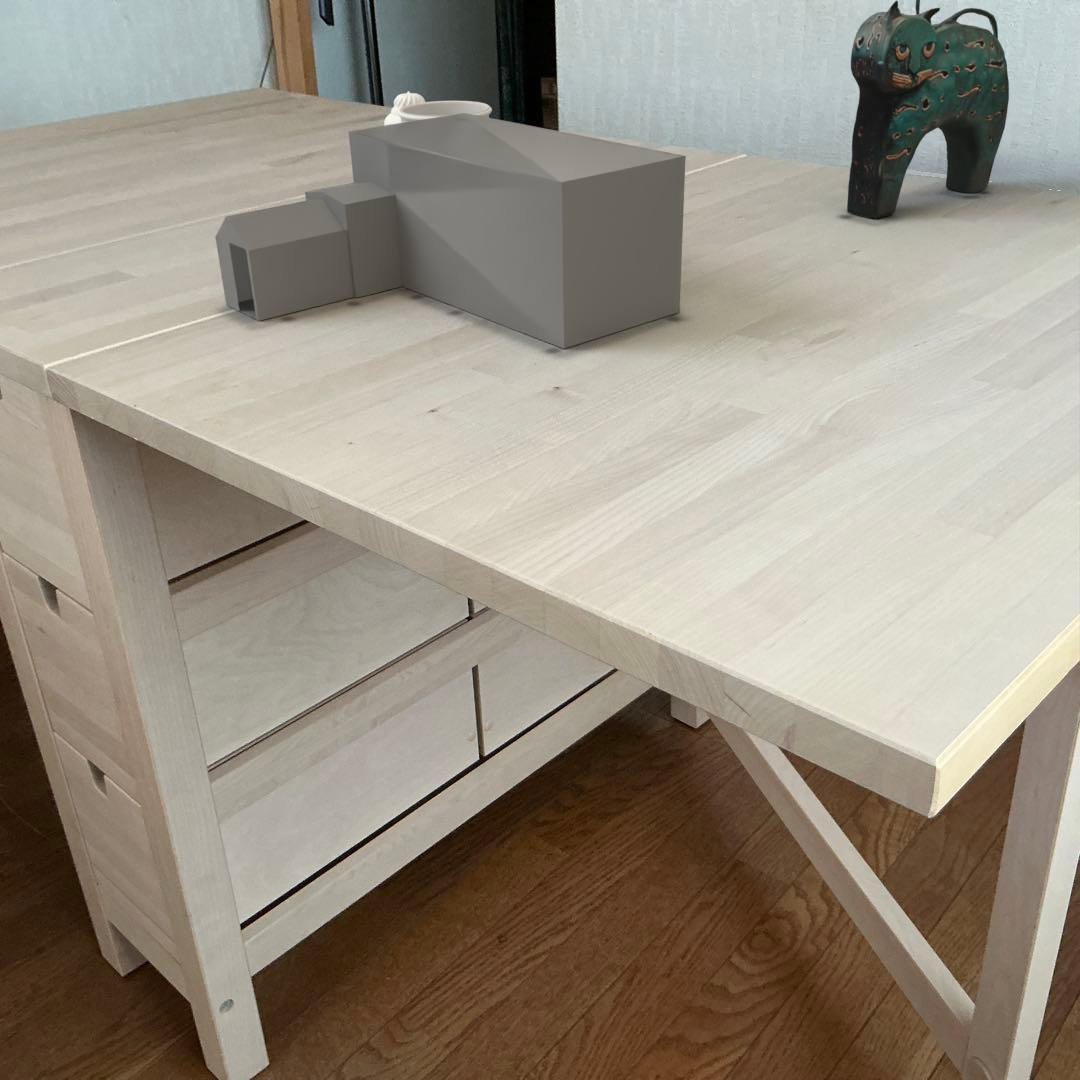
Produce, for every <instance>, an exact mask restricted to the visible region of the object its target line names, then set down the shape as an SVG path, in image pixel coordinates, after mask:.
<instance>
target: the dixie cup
mask: <svg viewBox="0 0 1080 1080" xmlns="http://www.w3.org/2000/svg"><path fill="white" fill-rule="evenodd" d="M492 111H493V109H492V107H491V106H490V105H489V104H487V103H485V102H481V101H473V100H472V101H471V100H436V101H435V100H433V101H425V102H424V103H417V104H411V105H407V106H404V107H402V108H401V109H400V110H399V111H398V116H399V117H401V122H402V123H404V122H410V121H417V120H423V119H429V118H436V117H442V116H448V115H454V114H461V113H467V114H472V115H477V116H482V117H487V118H490V114H491V113H492Z"/></svg>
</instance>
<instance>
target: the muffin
mask: <svg viewBox="0 0 1080 1080" xmlns="http://www.w3.org/2000/svg"><path fill="white" fill-rule="evenodd" d="M424 102H426V100H425V98H424V97H423V96H422V95H421V94H419V93H417V92H415V93H414V92H410V91H409V90H407V92H405V93H400V94H398V95H397V96H396V97H395V99H394V100H393V106H392V108H391V110H390V113H388V115H387V116H386V117H385V119H384V121H383V126H385V125H391V124H398V123H402V122H401V117H399V116H398V111H399V110H400V109H401V108H402V107H404V106H407V105H411V104H417V103H424Z"/></svg>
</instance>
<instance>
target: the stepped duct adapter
mask: <svg viewBox="0 0 1080 1080" xmlns="http://www.w3.org/2000/svg"><path fill="white" fill-rule="evenodd" d="M348 136H349V137H348V139H349V140H348V141H349V149H350V159H351V170H352V179H353V182H350V183H345V184H339V185H335V186H328V187H323V188H317V189H313V190H312V189H311V190H308V191H304V196H305V200H304V201H299V202H293V203H287V204H282V205H278V206H273V207H268V208H262V209H256V210H252V211H246V212H242V213H241V212H240V213H237V214H231V215H226V216H225V217H224V220H223V222H222V224H221V226H220V227H219V229H218V231H217V233H216V235H215V242H216V249H217V256H218V261H219V269H220V274H221V281H222V287H223V293H224V300H225V305H226V306H228V307H229V308H231V309H234V310H236V311H237V312H239V313H242V314H244V315H245V316H248V317H250V318H252V319H254V320H255V321H257V322H261V321H264V320H269V319H272V318H276V317H280V316H284V315H289V314H292V313H297V312H300V311H303V310H304V311H305V310H308V309H313V308H316V307H319V306H324V305H329V304H332V303H336V302H341V301H344V300H348V299H351V298H355V299H358V298H361V297H365V296H370V295H373V294H377V293H381V292H386V291H389V290H393V289H397V288H401V287H403V288H405V289H407V290H411V291H413V292H415V293H419V294H420V295H423V296H427V297H429V298H432V299H434V300H436V301H439V302H442V303H445V304H447V305H450V306H452V307H454V308H457V309H459V310H462V311H465V312H467V313H470V314H473V315H475V316H479V317H481V318H483V319H486V320H487V321H491V322H494V323H497V324H499V325H501V326H503V327H506V328H509V329H512V330H514V331H517V332H519V333H522V334H525V335H527V336H530V337H532V338H534V339H538V340H541V341H542V342H545V343H548V344H551V345H553V346H556V347H559V348H561V349H567V348H570V347H571V348H572V347H574V346H577V345H580V344H584V343H587V342H590V341H593V340H596V339H599V338H602V337H605V336H609V335H611V334H615V333H618V332H621V331H625V330H627V329H630V328H631V329H632V328H634V327H638V326H640V325H643V324H646V323H650V322H652V321H657V320H659V319H662V318H666V317H669V316H671V315H675V314H678V313H680V311H681V289H682V288H681V287H682V286H681V285H682V260H683V258H682V257H683V237H684V235H683V234H684V208H685V207H684V205H685V182H686V181H685V180H686V155H683V154H678V153H673V152H668V151H662V150H657V149H652V148H646V147H642V146H637V145H631V144H626V143H621V142H616V141H612V140H606V139H600V138H595V137H590V136H585V135H580V134H574V133H570V132H565V131H560V130H554V129H548V128H544V127H538V126H533V125H529V124H523V123H518V122H513V121H509V120H508V121H507V120H502V119H498V118H492V117H489V118H487V117H482V116H477V115H472V114H467V113H461V114H454V115H448V116H442V117H436V118H429V119H423V120H417V121H410V122H404V123H398V124H391V125H385V126H384V125H380V126H374V127H367V128H361V129H360V128H359V129H355V130H348Z"/></svg>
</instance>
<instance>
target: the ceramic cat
mask: <svg viewBox="0 0 1080 1080" xmlns="http://www.w3.org/2000/svg"><path fill="white" fill-rule="evenodd" d="M914 6H915V14H905V13H904V12H903V13H902V12H901V10H900V8H899V1H898V0H895V1H894V2H893V3H892V5H891V6H890V7H889V9H888V10H887V11H878V12H875V13H873V14H871V15H869V17H868V18H866V19H865V20H864V21H863V22H862V23H861V25H860V26H859V28H858V30H857V32H856V34H855V37H854V39H853V44H852V49H851V52H850V53H851V55H850V70H851V74H852V77H853V78H854V80H855V83H856V84H857V86H858V90H859V94H858V95H859V96H858V104H857V108H856V115H855V121H854V124H853V130H852V135H851V136H852V137H851V164H850V168H849V179H848V185H847V189H848V190H847V204H846V205H847V206H846V210H847V213H849V214H852V215H856V216H859V217H864V218H868V219H873V220H876V219H877V220H878V219H880V218H881V219H882V218H885V217H888V216H889V217H890V216H893V215H894V214H895V213H896V210H897V206H898V203H899V198H900V195H901V190H902V186H903V183H904V179H905V176H906V173H907V171H908V168H909V167H910V164H911V163H912V160H913V158H914V156H915V154H916V151H917V148H918V147H919V145H920V143H921V142H922V140H923V139H924V138H925V137H926V135H927V134H929V133H931V132H933V131H935V130H937V129H939V130H940V131H941V133H942V134H943V137H944V140H945V143H946V162H947V163H946V165H947V167H946V178H945V188H946V189H947V190H951V191H952V190H953V191H955V192H959V193H965V194H966V193H969V194H970V193H971V194H974V193H975V194H976V193H980V192H982V191H984V190H987V187H988V186H989V182H990V180H991V179H990V178H991V174H992V171H993V167H994V162H995V160H996V157H997V153H998V151H999V147H1000V144H1001V141H1002V138H1003V134H1004V132H1005V129H1006V123H1007V116H1008V108H1009V102H1010V81H1009V74H1008V63H1007V58H1006V55H1005V50H1004V48H1003V47H1002V44H1001V42H1000V41H999V28H998V23H997V19H996V17H995V15H994V14H992V13H991V12H989V11H988V10H985V9H981V8H977V7H976V8H975V7H969V8H964V9H962V10H959V11H956V12H955V13H954V14H952V15H951V16H949V17H948V18H946V19H944V20H943V21H941V22H939V23H933V24H932V18H933V16H934V15H936V14H938V13H939V12H940V10H941V7H934V8H930V9H927V10H925V11H923V12H921V13H920V6H921V0H915V5H914ZM966 14H976V15H978V16H983V17H986V18H987V19H988V21H989V24H990V26H991V28H992V32H991V30H989V29H987V28H983V27H980V26H975V25H969V24H963V23H960V22H959V21H958V20H959V18H960V17H962V16H963V15H966Z"/></svg>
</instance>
